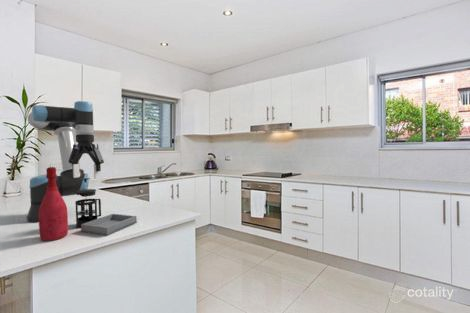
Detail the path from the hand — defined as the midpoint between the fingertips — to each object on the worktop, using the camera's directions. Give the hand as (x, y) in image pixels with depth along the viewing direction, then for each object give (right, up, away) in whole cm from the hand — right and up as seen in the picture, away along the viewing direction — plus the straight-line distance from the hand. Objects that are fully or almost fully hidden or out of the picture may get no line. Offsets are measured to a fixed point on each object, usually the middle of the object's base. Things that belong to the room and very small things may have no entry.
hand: (86, 177), depth 120 cm
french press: (0, -23, +1) cm, 23 cm away
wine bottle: (-4, -24, -15) cm, 29 cm away
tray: (+13, -23, -3) cm, 27 cm away
